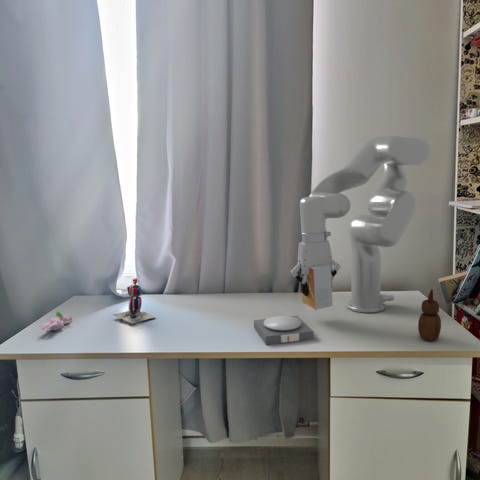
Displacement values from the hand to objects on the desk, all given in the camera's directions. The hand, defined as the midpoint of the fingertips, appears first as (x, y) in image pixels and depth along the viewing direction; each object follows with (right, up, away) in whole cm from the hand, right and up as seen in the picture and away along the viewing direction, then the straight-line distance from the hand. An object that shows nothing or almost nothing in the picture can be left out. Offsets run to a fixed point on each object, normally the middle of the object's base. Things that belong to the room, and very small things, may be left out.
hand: (316, 292), depth 153 cm
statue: (-59, -10, +10) cm, 61 cm away
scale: (-11, -11, -7) cm, 18 cm away
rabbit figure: (-82, -12, +3) cm, 83 cm away
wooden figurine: (+29, -12, -15) cm, 35 cm away
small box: (0, -4, +1) cm, 4 cm away
